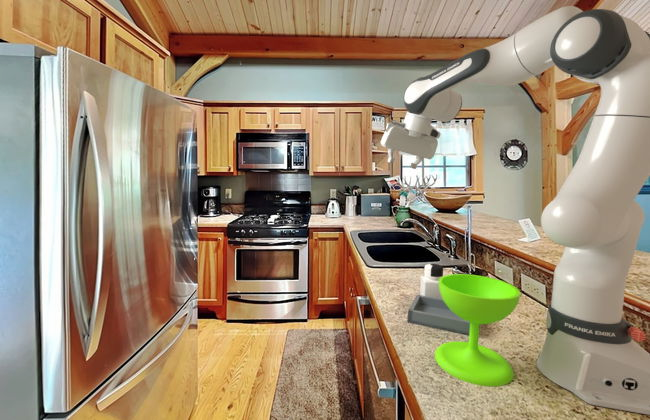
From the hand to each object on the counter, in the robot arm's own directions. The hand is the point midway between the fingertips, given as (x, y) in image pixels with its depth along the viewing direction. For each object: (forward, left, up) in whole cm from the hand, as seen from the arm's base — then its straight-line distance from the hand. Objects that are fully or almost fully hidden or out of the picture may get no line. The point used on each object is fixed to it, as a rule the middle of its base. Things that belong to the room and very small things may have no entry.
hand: (401, 165), depth 108 cm
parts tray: (-18, +17, -46) cm, 52 cm away
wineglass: (-26, +37, -46) cm, 64 cm away
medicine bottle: (-13, +2, -46) cm, 48 cm away
